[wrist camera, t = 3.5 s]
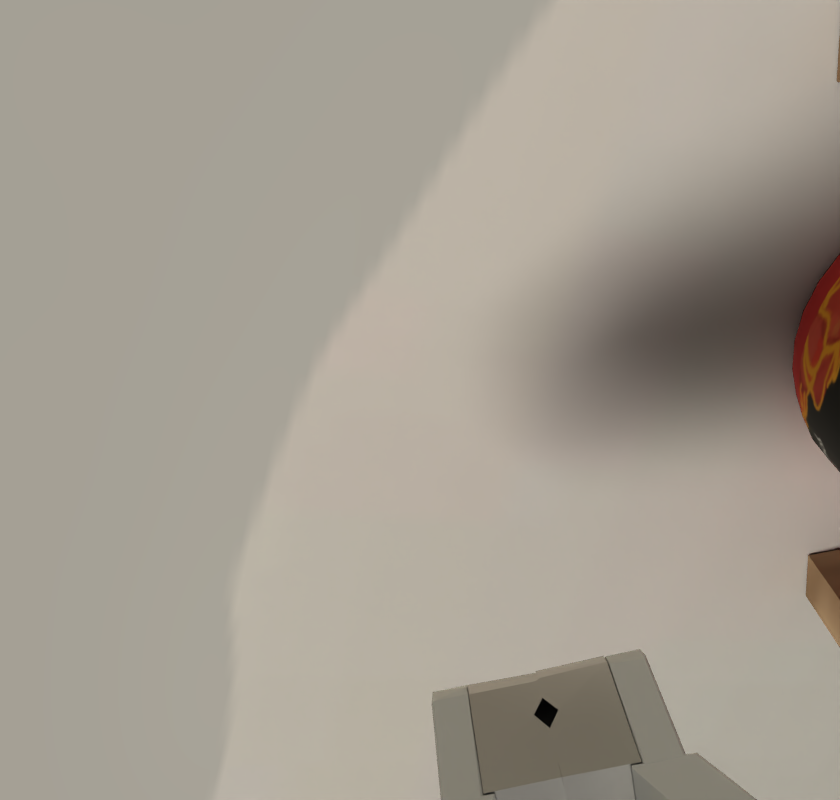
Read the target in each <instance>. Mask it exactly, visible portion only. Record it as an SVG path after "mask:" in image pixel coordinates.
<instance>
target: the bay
mask: <svg viewBox="0 0 840 800" xmlns="http://www.w3.org/2000/svg"><path fill="white" fill-rule="evenodd" d="M837 82H840V38H839V55H838V71H837ZM806 597H807V598H808V600H809V601H810V603H811V604H812V606H813V607H814V609H815V610H816V612H817V613H818V615H819V616H820V618H821V619H822V621H823V623H824V624H825V626H826V627H827V629H828V630H829V632H830V633H831V635H832V636H833V638H834V639H835V641H836V642H837V644H838V645H839V647H840V550H835V551H829V552H824V553H818V554H813V555H808V569H807V585H806Z"/></svg>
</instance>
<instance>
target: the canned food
mask: <svg viewBox="0 0 840 800" xmlns="http://www.w3.org/2000/svg"><path fill="white" fill-rule="evenodd" d="M792 370H793V376H794V382H795V389H796V395H797V398H798V402H799V405H800V409H801V412H802V416H803V418H804V420H805V423H806V425H807V427H808V429H809V432H810V434H811V436H812V439H813V440H814V442H815V443H816V444H817V445H818V447H819V448H820V449H821V450H822V452H823V453H824V454H825V455H826V457H827V458H828V459H829V460H830V461H831V463H832V464H833V465H834V466H835V467H836V468H837V469H838V471H839V472H840V254H839V256H838V257H837V258H836V260H835V261H834V262H833V264H832V265H831V266H830V268H829V269H828V270H827V272H826V273H825V274H824V276H823V277H822V278H821V279H820V281H819V282H818V284H817V286H816V288H815V290H814V292H813V294H812V296H811V298H810V300H809V302H808V304H807V305H806V307H805V309H804V311H803V315H802V318H801V321H800V325H799V328H798V331H797V335H796V338H795V342H794V355H793V367H792Z"/></svg>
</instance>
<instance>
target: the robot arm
mask: <svg viewBox="0 0 840 800" xmlns="http://www.w3.org/2000/svg"><path fill="white" fill-rule="evenodd" d="M432 711H433V722H434V732H435V743H436V753H437V764H438V774H439V785H440V795H441V800H757V799H755V798H754V797H753V796H751V795H750V794H749V793H748V792H746V791H745V790H744V789H742V788H741V787H740V786H739V785H737V784H736V783H735V782H734V781H732V780H731V779H730V778H728V777H727V776H726V775H725V774H723V773H722V772H721V771H719V770H718V769H717V768H716V767H714V766H713V765H712V764H711V763H709V762H708V761H707V760H705V759H704V758H703V757H702V756H700V755H699V754H698V753H693V754H685V751H684V749H683V746H682V744H681V742H680V739H679V737H678V734H677V732H676V729H675V727H674V724H673V722H672V719H671V717H670V715H669V712H668V710H667V707H666V705H665V702H664V700H663V697H662V695H661V692H660V690H659V687H658V685H657V683H656V680H655V678H654V675H653V673H652V670H651V668H650V665H649V663H648V660H647V658H646V656H645V654H644V653H643V652H642V651H641V650H640V649H638V650H633V651H629V652H624V653H620V654H615V655H610V656H606V657H605V658H604V656H601V657H597V658H592V659H588V660H583V661H579V662H574V663H570V664H566V665H561V666H557V667H552V668H548V669H543V670H539V671H536V673H532V674H527V675H521V676H516V677H510V678H504V679H499V680H493V681H488V682H482V683H477V684H471V685H466V686H461V687H456V688H451V689H446V690H441V691H436V692H433V696H432Z"/></svg>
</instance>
